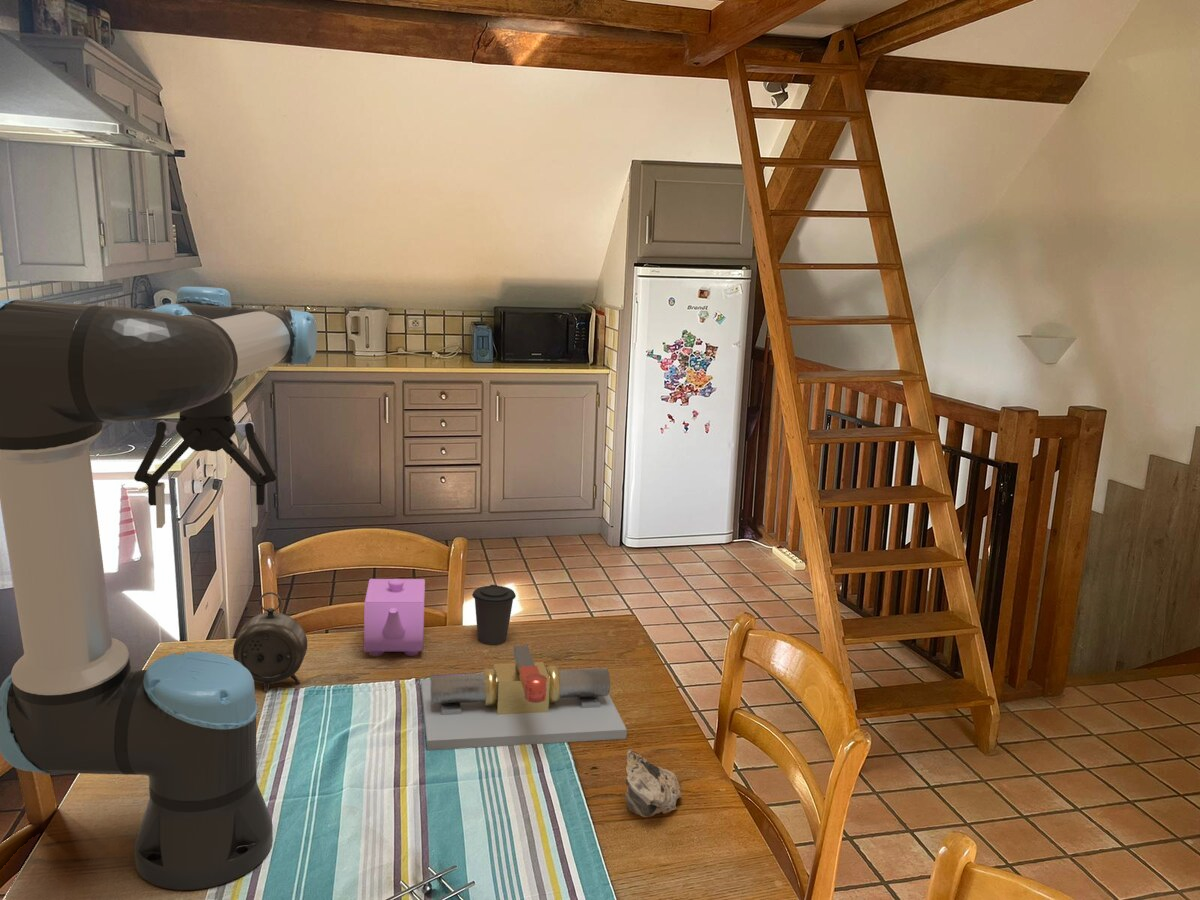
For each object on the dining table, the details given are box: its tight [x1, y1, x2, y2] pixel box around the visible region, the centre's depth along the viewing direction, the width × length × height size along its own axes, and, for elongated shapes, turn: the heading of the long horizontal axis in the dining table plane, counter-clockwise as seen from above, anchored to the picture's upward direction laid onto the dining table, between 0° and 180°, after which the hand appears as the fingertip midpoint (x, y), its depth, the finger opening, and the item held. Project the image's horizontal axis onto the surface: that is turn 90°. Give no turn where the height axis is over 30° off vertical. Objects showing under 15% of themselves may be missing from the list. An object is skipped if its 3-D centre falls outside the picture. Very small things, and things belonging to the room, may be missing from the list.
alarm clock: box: [232, 591, 308, 693], centre depth 154 cm, size 11×5×16 cm, turn 96°
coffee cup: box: [471, 584, 517, 646], centre depth 178 cm, size 8×8×10 cm
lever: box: [513, 645, 547, 703], centre depth 144 cm, size 16×3×5 cm, turn 13°
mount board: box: [420, 678, 628, 751], centre depth 152 cm, size 20×30×2 cm, turn 103°
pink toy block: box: [363, 578, 426, 657], centre depth 171 cm, size 20×10×12 cm, turn 9°
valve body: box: [430, 661, 611, 715], centre depth 151 cm, size 6×28×6 cm, turn 103°
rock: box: [624, 748, 683, 818], centre depth 129 cm, size 9×7×10 cm
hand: (208, 525), depth 149 cm, fingers open, 13 cm apart
